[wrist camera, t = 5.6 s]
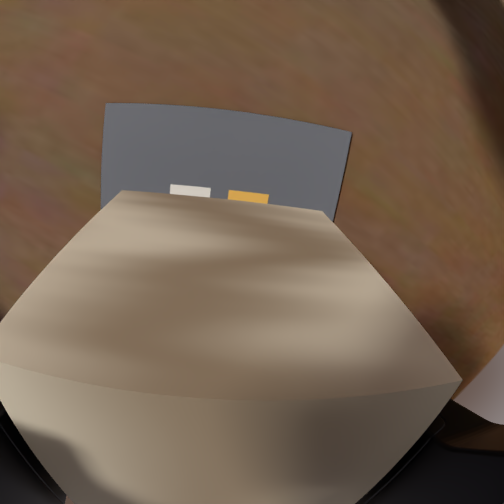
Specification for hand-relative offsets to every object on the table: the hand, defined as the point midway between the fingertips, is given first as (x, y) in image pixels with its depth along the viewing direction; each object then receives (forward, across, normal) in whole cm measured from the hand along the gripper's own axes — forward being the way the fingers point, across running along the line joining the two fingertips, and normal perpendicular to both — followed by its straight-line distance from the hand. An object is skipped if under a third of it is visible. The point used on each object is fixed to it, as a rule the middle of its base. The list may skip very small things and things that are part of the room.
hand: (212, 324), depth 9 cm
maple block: (+2, 0, 0) cm, 2 cm away
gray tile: (+7, 0, 0) cm, 7 cm away
